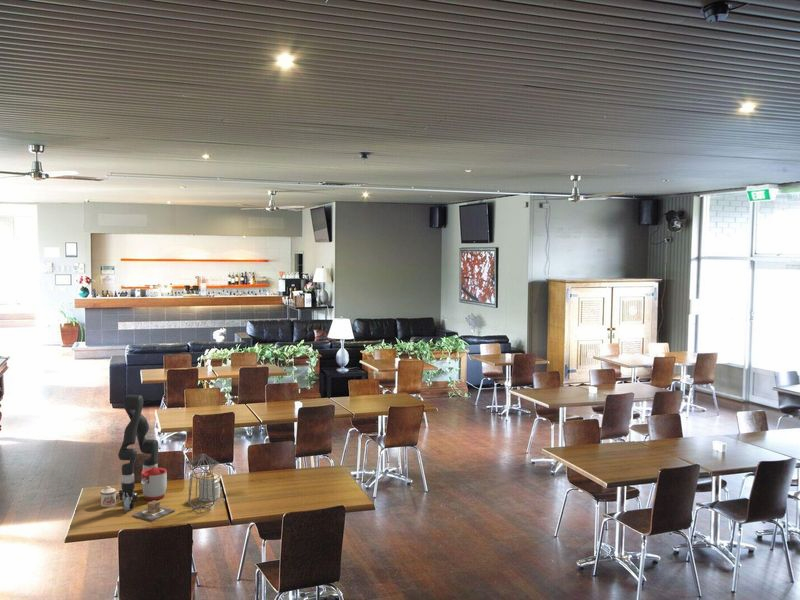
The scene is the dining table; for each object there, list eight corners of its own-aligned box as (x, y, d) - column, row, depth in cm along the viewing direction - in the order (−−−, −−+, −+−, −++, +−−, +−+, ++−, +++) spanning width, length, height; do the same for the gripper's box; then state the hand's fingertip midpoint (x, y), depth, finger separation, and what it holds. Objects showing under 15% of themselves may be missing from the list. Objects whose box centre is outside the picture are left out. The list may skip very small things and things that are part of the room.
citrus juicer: (133, 499, 463) (133, 468, 461) (154, 491, 478) (154, 461, 476) (151, 504, 455) (151, 472, 454) (172, 495, 471) (172, 465, 469)
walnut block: (153, 509, 443) (153, 500, 442) (159, 511, 440) (159, 501, 440) (147, 512, 438) (147, 502, 438) (153, 514, 436) (153, 504, 435)
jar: (214, 502, 460) (214, 475, 458) (195, 500, 462) (194, 473, 461) (223, 495, 473) (223, 469, 471) (204, 493, 475) (204, 467, 474)
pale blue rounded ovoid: (128, 507, 450) (128, 497, 449) (134, 508, 447) (134, 499, 447) (122, 509, 445) (122, 500, 445) (128, 511, 443) (128, 501, 442)
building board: (155, 506, 451) (155, 503, 451) (174, 511, 444) (174, 508, 444) (132, 516, 435) (132, 513, 435) (152, 521, 428) (152, 518, 428)
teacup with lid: (101, 508, 446) (101, 490, 445) (99, 503, 454) (99, 485, 453) (122, 505, 452) (122, 487, 451) (120, 500, 460) (119, 482, 459)
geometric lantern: (183, 509, 447) (184, 453, 445) (206, 504, 458) (207, 449, 456) (196, 516, 436) (197, 458, 434) (220, 510, 447) (220, 454, 445)
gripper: (141, 481, 445) (141, 508, 446) (124, 477, 451) (124, 504, 453) (131, 484, 438) (131, 512, 440) (114, 480, 445) (115, 507, 446)
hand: (128, 508), depth 446 cm, fingers closed on pale blue rounded ovoid, 5 cm apart
